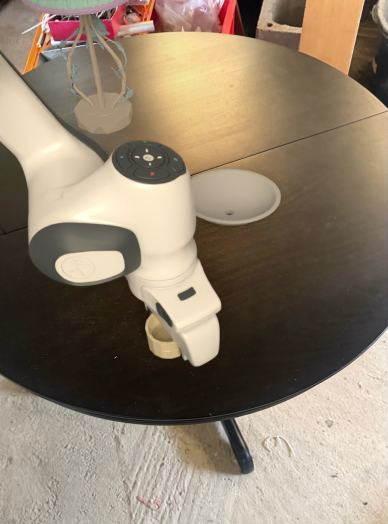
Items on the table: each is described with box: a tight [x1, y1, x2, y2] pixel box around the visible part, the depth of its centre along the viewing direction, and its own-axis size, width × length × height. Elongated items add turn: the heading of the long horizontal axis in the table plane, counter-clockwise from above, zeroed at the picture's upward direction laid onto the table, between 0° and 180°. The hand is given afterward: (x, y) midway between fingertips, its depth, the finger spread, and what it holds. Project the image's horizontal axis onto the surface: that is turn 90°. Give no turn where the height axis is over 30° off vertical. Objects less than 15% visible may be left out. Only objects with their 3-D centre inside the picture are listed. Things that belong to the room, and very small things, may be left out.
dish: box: [191, 168, 282, 227], centre depth 85 cm, size 18×14×5 cm
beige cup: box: [144, 313, 181, 360], centre depth 71 cm, size 6×6×4 cm
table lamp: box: [20, 0, 135, 135], centre depth 89 cm, size 22×22×40 cm
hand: (169, 332), depth 70 cm, fingers open, 8 cm apart
